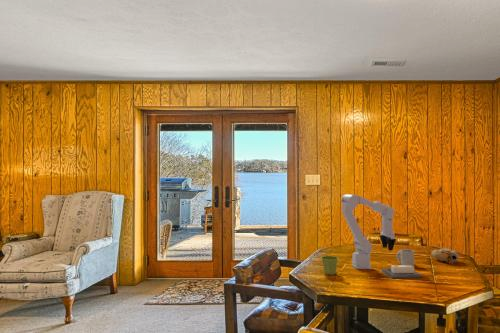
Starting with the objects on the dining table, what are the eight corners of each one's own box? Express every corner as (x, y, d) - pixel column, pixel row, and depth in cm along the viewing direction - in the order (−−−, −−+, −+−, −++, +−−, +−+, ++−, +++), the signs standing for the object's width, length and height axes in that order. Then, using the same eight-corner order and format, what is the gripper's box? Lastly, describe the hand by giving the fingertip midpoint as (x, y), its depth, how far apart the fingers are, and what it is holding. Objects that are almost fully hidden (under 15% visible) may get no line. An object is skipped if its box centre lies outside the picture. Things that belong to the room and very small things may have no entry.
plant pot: (329, 277, 181) (328, 260, 181) (317, 272, 189) (317, 257, 189) (342, 274, 185) (342, 258, 185) (330, 270, 194) (330, 255, 194)
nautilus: (462, 269, 197) (433, 267, 203) (457, 258, 216) (431, 257, 222) (462, 255, 196) (433, 254, 203) (456, 246, 216) (430, 245, 222)
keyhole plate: (391, 278, 178) (391, 275, 178) (381, 271, 190) (381, 268, 190) (421, 277, 179) (421, 274, 179) (409, 271, 191) (409, 268, 191)
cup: (412, 267, 198) (411, 252, 198) (394, 264, 205) (394, 249, 205) (415, 265, 203) (415, 250, 204) (398, 262, 210) (398, 247, 210)
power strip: (394, 276, 181) (393, 266, 181) (391, 274, 185) (390, 264, 185) (414, 276, 181) (414, 266, 182) (410, 274, 185) (410, 264, 185)
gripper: (399, 228, 196) (400, 251, 196) (388, 224, 211) (388, 246, 210) (387, 228, 196) (388, 251, 196) (377, 224, 210) (377, 246, 210)
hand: (387, 248), depth 203 cm, fingers open, 7 cm apart
